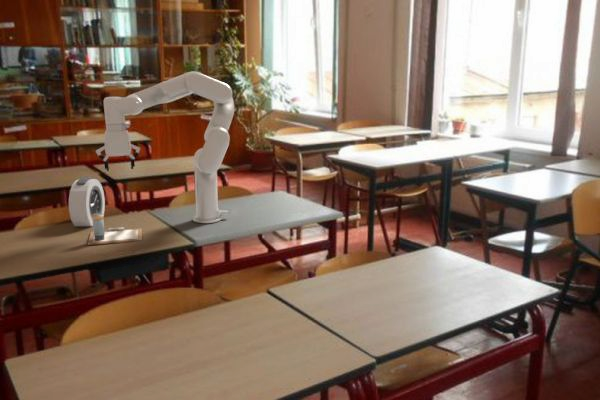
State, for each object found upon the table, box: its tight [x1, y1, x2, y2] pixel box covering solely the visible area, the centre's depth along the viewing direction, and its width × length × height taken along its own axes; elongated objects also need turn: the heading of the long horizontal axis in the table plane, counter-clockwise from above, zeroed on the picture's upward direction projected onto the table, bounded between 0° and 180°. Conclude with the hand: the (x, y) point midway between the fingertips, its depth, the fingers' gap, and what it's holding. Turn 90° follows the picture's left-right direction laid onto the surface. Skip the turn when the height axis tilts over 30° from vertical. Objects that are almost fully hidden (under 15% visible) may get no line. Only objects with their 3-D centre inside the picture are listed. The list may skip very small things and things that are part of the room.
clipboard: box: [87, 226, 143, 246], centre depth 229 cm, size 20×16×2 cm
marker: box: [92, 213, 105, 241], centre depth 222 cm, size 4×4×10 cm
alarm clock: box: [68, 176, 106, 228], centre depth 247 cm, size 21×8×20 cm, turn 179°
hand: (120, 169), depth 234 cm, fingers open, 9 cm apart
